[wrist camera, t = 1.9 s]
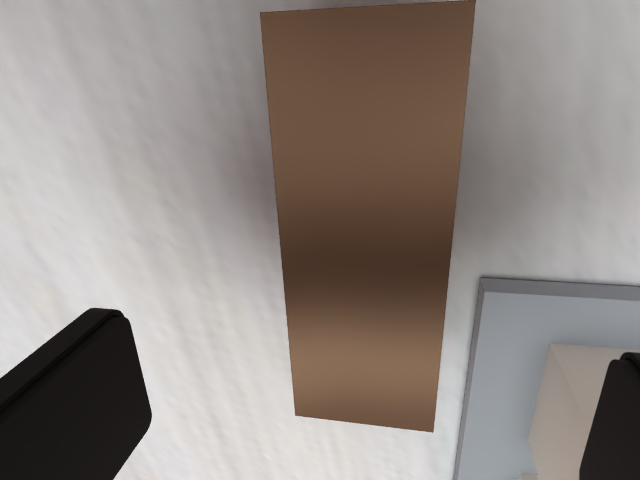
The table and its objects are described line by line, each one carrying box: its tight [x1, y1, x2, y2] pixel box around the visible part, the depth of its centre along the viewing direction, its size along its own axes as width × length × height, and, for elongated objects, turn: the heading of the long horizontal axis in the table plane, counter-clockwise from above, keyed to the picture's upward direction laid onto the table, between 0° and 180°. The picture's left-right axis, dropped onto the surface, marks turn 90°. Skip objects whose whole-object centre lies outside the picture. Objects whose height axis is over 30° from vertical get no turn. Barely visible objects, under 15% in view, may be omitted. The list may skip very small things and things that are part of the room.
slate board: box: [453, 278, 640, 480], centre depth 18 cm, size 16×10×1 cm, turn 2°
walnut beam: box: [260, 0, 476, 432], centre depth 14 cm, size 12×4×5 cm, turn 2°
